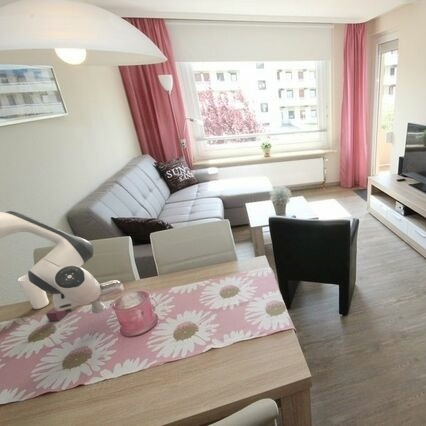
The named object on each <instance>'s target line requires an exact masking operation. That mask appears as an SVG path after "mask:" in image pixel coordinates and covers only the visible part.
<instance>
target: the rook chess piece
mask: <svg viewBox="0 0 426 426" xmlns="http://www.w3.org/2000/svg"><path fill="white" fill-rule="evenodd" d="M105 305H106V304H104V303H103V302H102V300H101V301H100V300H96V301H93V302H92V304H91V309H90V311H91V313H92V314H94V315H96V314H100V313H101V312H104V311H105V310H106V306H105Z"/></svg>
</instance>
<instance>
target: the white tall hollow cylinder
mask: <svg viewBox="0 0 426 426" xmlns="http://www.w3.org/2000/svg"><path fill="white" fill-rule="evenodd" d="M17 281H18V284H19V286H20V288H21V290H22V292H23V293H24V295H25V297H26V298H27V299H28V302H29V303H30V304H31V307H32V309H34V310H39V309H42V308H44V307H47V306H48V305H49V303H50V300H49V298H48V295H47V292H45V291H43V290H42V289H40V288H39V287H37V286H36V285H34V284H33V283H31V282H30V281H29V277H28V273H27V274H24V275H22V276H20V277H18V278H17Z"/></svg>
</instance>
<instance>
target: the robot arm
mask: <svg viewBox="0 0 426 426" xmlns="http://www.w3.org/2000/svg"><path fill="white" fill-rule="evenodd" d="M17 233H30V234H32V235H35V236H38V237H41V238H43V239H45V240H48V241H50V242H52V243H54V244H56V245H55V247H54V248H53V249H52V250H50V251H49V252H48V253H47V254H45V256H44V257H43V258H41V259H39V261H37V262H36V263H35V264H34V265H33V266H31V268H30V269H29V270H28V271H27V274H28V277H29V281H30V282H31V283H33V284H34V285H36V286H37V287H39V288H40V289H42V290H43V291H45V292H46V293H48V294H50V295H52V300H53V301H52V303H53V308H54V307H55V310H56V311H63V310H66V309H69V308H73V307H76V306H77V307H79V306H83V305H86V306H88V305H92V302H93V301H96V300H100V301H101V302H102V301H104V300H106V299H107V298H109V297H112V296H116V295H119V294H122V293H124V291H125V288H124V285H123V283H122V282H121V280H117V279H112V280H108V281H104V282H101V283H98V282H99V280H97V279H96V278H95V277H94V275H93V274H92V273H91V272H89V271H88V270H87V269H85V268H83V267H82V266H83V265H85V263H87V262H88V261H89V260H91V258H93V256H94V246H93V244H92V243H91V242H90V241H88V240H87V239H84V238H82V237H80V236H77V235H73V234H70V233H68V232H66V231H63V230H61V229H58V228H57V227H54V226H52V225H50V224H47V223H45V222H43V221H40V220H37V219H36V218H34V217H31V216H29V215H25V214H23V213H21V212H17V211H12V210H8V211H3V212H2V211H0V239H2V238H5V237H6V236H10V235H13V234H17ZM77 307H76V308H77Z"/></svg>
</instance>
